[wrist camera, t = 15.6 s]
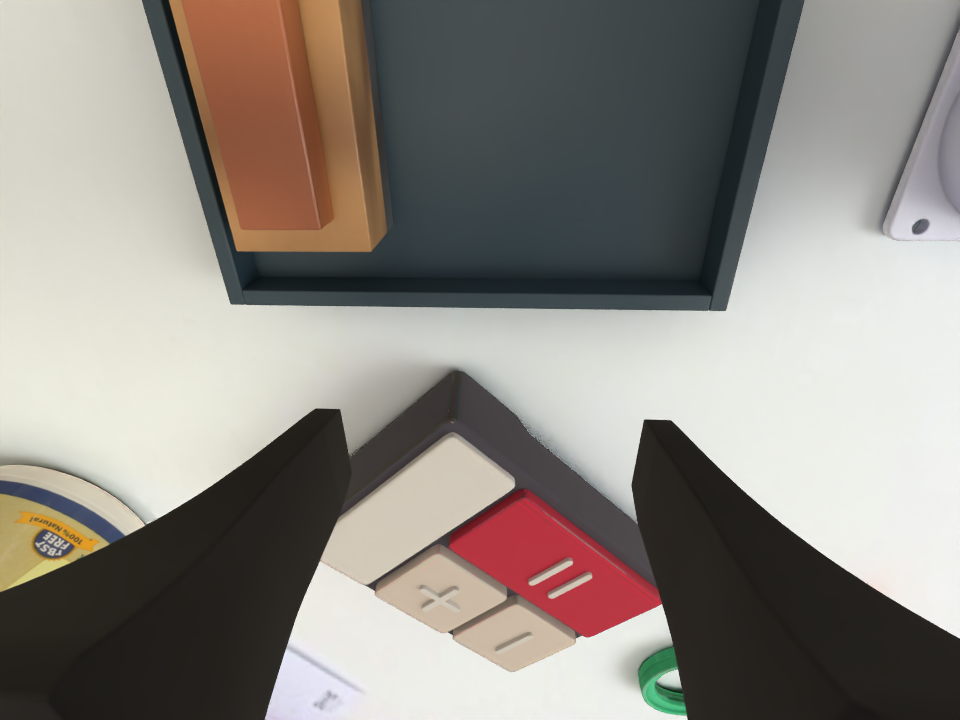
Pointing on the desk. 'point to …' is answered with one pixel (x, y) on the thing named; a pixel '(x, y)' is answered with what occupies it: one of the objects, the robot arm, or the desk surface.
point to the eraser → (291, 120)
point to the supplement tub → (53, 521)
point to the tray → (539, 155)
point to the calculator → (487, 532)
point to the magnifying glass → (652, 691)
